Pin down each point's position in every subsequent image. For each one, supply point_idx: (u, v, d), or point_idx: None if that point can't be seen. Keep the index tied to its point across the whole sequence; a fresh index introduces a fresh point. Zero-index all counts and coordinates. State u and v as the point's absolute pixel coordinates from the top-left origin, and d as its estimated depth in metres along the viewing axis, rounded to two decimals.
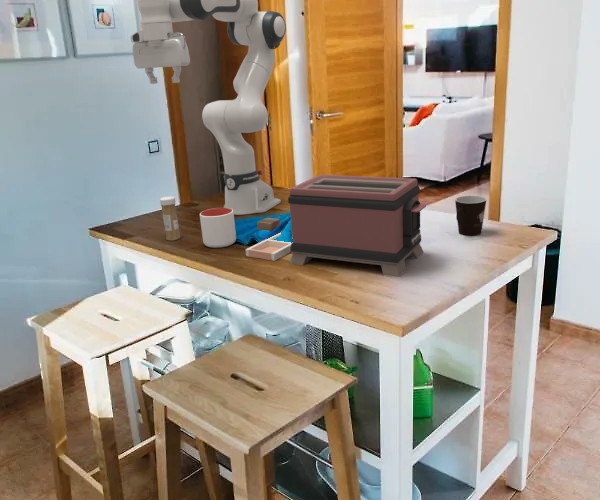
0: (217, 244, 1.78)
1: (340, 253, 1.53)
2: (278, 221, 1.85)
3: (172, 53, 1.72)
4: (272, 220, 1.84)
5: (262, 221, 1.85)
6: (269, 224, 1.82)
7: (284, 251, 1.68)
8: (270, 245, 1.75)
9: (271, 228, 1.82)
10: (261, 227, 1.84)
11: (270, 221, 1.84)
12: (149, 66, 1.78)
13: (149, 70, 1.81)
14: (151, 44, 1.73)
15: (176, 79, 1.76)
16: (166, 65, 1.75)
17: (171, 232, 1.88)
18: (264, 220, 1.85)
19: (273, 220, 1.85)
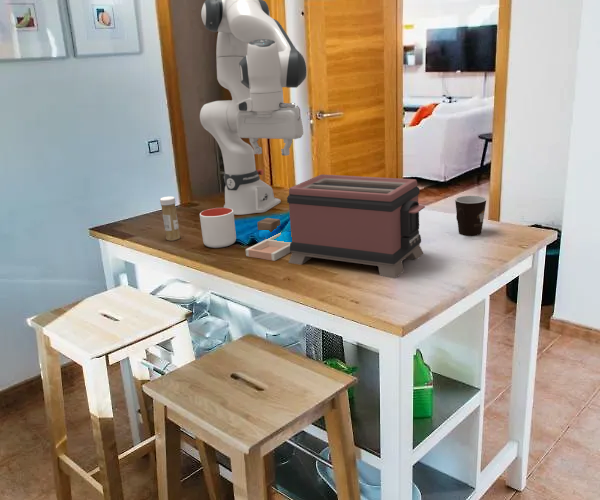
0: (217, 244, 1.78)
1: (338, 253, 1.53)
2: (278, 221, 1.85)
3: (285, 125, 1.58)
4: (272, 220, 1.84)
5: (262, 221, 1.85)
6: (269, 224, 1.82)
7: (284, 251, 1.68)
8: (270, 245, 1.75)
9: (271, 228, 1.82)
10: (261, 227, 1.84)
11: (270, 221, 1.84)
12: (255, 136, 1.65)
13: (254, 139, 1.67)
14: (261, 115, 1.60)
15: (286, 151, 1.62)
16: (276, 137, 1.61)
17: (171, 232, 1.88)
18: (264, 220, 1.85)
19: (273, 220, 1.85)
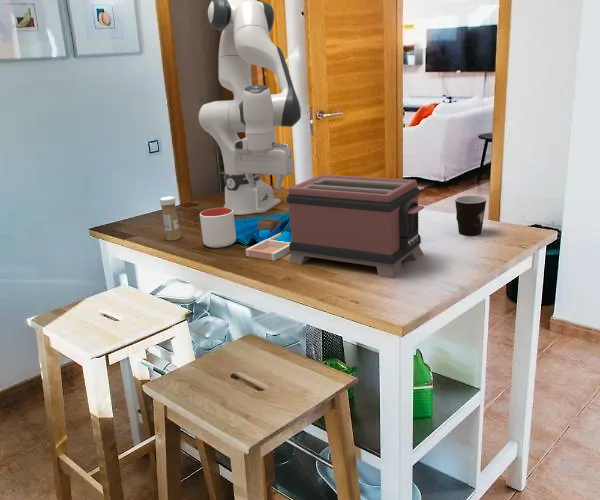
0: (217, 244, 1.78)
1: (337, 253, 1.53)
2: (278, 221, 1.85)
3: (277, 163, 1.74)
4: (272, 220, 1.84)
5: (262, 221, 1.85)
6: (269, 224, 1.82)
7: (284, 251, 1.68)
8: (270, 245, 1.75)
9: (271, 228, 1.82)
10: (261, 227, 1.84)
11: (270, 221, 1.84)
12: (250, 172, 1.81)
13: (249, 174, 1.83)
14: (255, 153, 1.76)
15: (279, 186, 1.78)
16: (269, 173, 1.77)
17: (171, 232, 1.88)
18: (264, 220, 1.85)
19: (273, 220, 1.85)
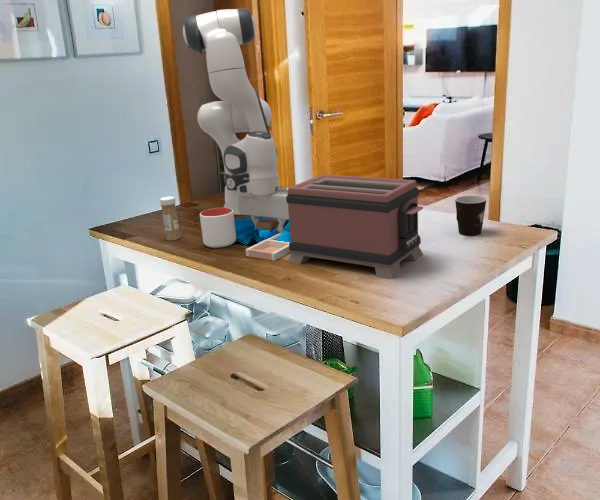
0: (217, 244, 1.78)
1: (335, 253, 1.53)
2: None
3: (280, 207, 1.78)
4: (272, 220, 1.84)
5: (262, 221, 1.85)
6: (269, 224, 1.82)
7: (284, 251, 1.68)
8: (270, 245, 1.75)
9: (271, 228, 1.82)
10: (261, 227, 1.84)
11: (270, 221, 1.84)
12: (254, 214, 1.84)
13: (255, 217, 1.86)
14: (259, 197, 1.79)
15: (280, 229, 1.82)
16: (273, 216, 1.80)
17: (171, 232, 1.88)
18: (264, 220, 1.85)
19: (273, 220, 1.85)
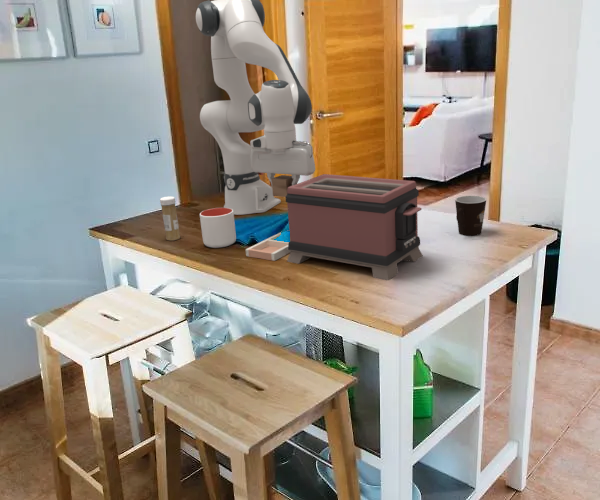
0: (217, 244, 1.78)
1: (333, 253, 1.53)
2: None
3: (297, 162, 1.65)
4: (288, 177, 1.71)
5: (277, 178, 1.71)
6: (285, 180, 1.69)
7: (284, 251, 1.68)
8: (270, 245, 1.75)
9: (287, 185, 1.69)
10: (276, 184, 1.71)
11: (285, 177, 1.71)
12: (269, 171, 1.72)
13: (272, 174, 1.73)
14: (274, 152, 1.67)
15: None
16: (289, 173, 1.68)
17: (171, 232, 1.88)
18: (279, 177, 1.72)
19: (289, 177, 1.71)
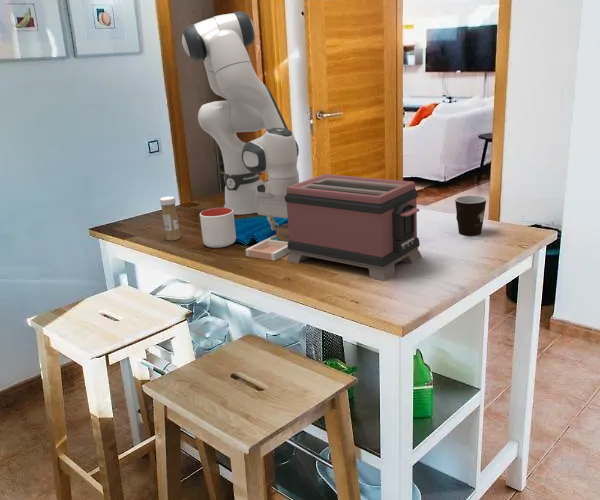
0: (217, 244, 1.78)
1: (331, 253, 1.53)
2: None
3: None
4: None
5: (281, 227, 1.76)
6: (288, 230, 1.73)
7: (284, 251, 1.68)
8: (270, 245, 1.75)
9: None
10: (280, 233, 1.75)
11: None
12: (273, 215, 1.76)
13: (271, 217, 1.78)
14: (278, 197, 1.71)
15: None
16: None
17: (171, 232, 1.88)
18: (283, 226, 1.77)
19: None
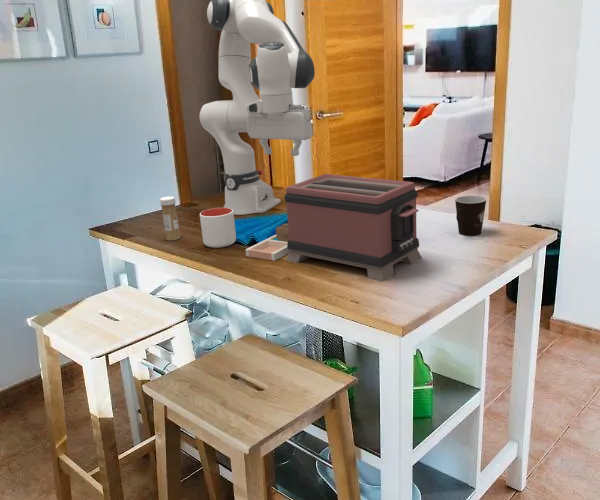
0: (217, 244, 1.78)
1: (330, 253, 1.53)
2: None
3: (294, 126, 1.62)
4: None
5: (281, 227, 1.76)
6: (288, 230, 1.73)
7: (284, 251, 1.68)
8: (270, 245, 1.75)
9: None
10: (280, 233, 1.75)
11: None
12: (265, 137, 1.68)
13: (264, 140, 1.70)
14: (271, 116, 1.63)
15: (296, 152, 1.66)
16: (286, 138, 1.64)
17: (171, 232, 1.88)
18: (283, 226, 1.77)
19: None
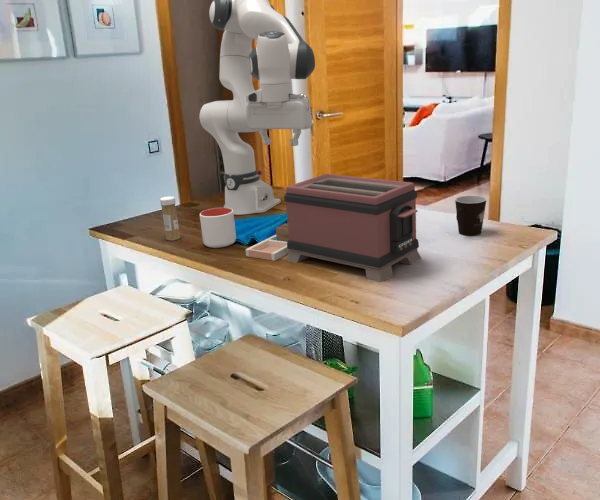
0: (217, 244, 1.78)
1: (329, 253, 1.53)
2: None
3: (294, 116, 1.61)
4: None
5: (281, 227, 1.76)
6: None
7: (284, 251, 1.68)
8: (270, 245, 1.75)
9: None
10: (280, 233, 1.75)
11: None
12: (265, 127, 1.67)
13: (263, 130, 1.70)
14: (270, 105, 1.62)
15: (295, 142, 1.65)
16: (286, 127, 1.64)
17: (171, 232, 1.88)
18: (283, 226, 1.77)
19: None
